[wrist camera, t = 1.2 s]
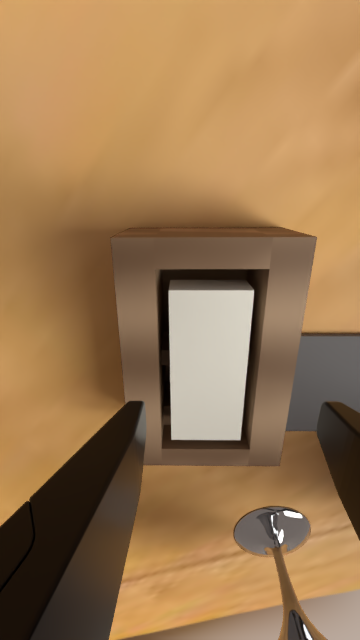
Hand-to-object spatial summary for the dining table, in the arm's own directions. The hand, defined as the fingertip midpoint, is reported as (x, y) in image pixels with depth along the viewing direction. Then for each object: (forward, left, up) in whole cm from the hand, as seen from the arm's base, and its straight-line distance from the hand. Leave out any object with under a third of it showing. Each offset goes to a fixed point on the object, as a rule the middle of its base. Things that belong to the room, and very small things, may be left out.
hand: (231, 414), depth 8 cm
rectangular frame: (-3, 0, -12) cm, 12 cm away
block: (-3, 0, -9) cm, 10 cm away
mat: (-7, -10, -12) cm, 17 cm away
